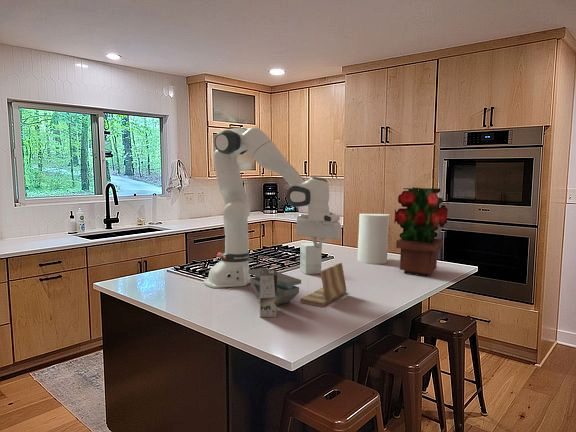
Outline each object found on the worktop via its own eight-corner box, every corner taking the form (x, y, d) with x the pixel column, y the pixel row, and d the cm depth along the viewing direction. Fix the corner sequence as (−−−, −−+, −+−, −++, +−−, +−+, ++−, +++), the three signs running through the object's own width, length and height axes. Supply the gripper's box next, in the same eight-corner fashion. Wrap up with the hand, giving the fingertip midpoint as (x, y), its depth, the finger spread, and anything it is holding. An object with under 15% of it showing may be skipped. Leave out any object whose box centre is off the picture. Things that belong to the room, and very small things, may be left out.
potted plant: (434, 280, 221) (440, 190, 215) (391, 273, 232) (396, 188, 226) (443, 271, 240) (449, 188, 235) (403, 265, 251) (407, 186, 245)
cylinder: (389, 264, 253) (392, 216, 249) (359, 263, 253) (361, 215, 249) (383, 257, 270) (386, 212, 266) (355, 257, 270) (357, 211, 267)
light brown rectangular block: (321, 307, 176) (322, 293, 175) (300, 302, 181) (300, 289, 180) (346, 292, 196) (346, 280, 195) (326, 288, 201) (326, 277, 201)
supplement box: (315, 269, 237) (316, 242, 235) (321, 273, 229) (322, 245, 227) (299, 270, 234) (300, 242, 232) (305, 274, 226) (306, 245, 224)
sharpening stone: (248, 294, 190) (248, 270, 189) (262, 291, 195) (263, 267, 194) (285, 310, 171) (286, 283, 170) (300, 306, 176) (301, 279, 175)
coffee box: (276, 317, 163) (277, 275, 161) (259, 317, 163) (260, 275, 161) (275, 309, 172) (276, 268, 170) (259, 309, 172) (259, 268, 170)
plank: (323, 271, 177) (320, 271, 178) (328, 301, 177) (325, 301, 178) (341, 262, 193) (339, 263, 193) (346, 290, 193) (343, 290, 193)
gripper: (293, 214, 189) (293, 246, 191) (336, 218, 178) (336, 251, 180) (300, 213, 194) (300, 244, 196) (343, 216, 184) (342, 249, 185)
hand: (317, 247), depth 188 cm, fingers closed
